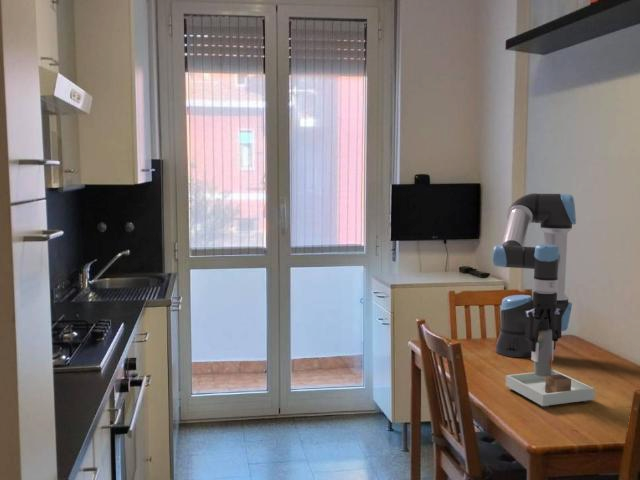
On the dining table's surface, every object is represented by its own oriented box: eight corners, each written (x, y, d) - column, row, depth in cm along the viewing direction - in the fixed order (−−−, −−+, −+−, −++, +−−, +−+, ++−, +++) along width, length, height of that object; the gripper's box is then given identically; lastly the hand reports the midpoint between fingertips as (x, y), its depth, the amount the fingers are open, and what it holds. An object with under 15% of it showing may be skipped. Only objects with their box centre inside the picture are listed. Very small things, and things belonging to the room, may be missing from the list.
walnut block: (545, 392, 213) (545, 375, 212) (559, 390, 214) (560, 374, 214) (556, 397, 207) (556, 381, 207) (570, 396, 209) (571, 379, 208)
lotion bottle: (551, 372, 220) (552, 314, 218) (551, 377, 215) (552, 318, 213) (534, 370, 222) (534, 313, 220) (533, 376, 217) (533, 317, 214)
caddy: (505, 388, 222) (505, 375, 221) (553, 383, 228) (554, 370, 227) (542, 409, 203) (542, 394, 202) (594, 403, 209) (594, 388, 208)
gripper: (528, 295, 209) (525, 365, 212) (575, 292, 215) (572, 360, 217) (514, 291, 216) (512, 359, 219) (560, 288, 222) (557, 354, 224)
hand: (542, 359), depth 218 cm, fingers closed on lotion bottle, 5 cm apart
